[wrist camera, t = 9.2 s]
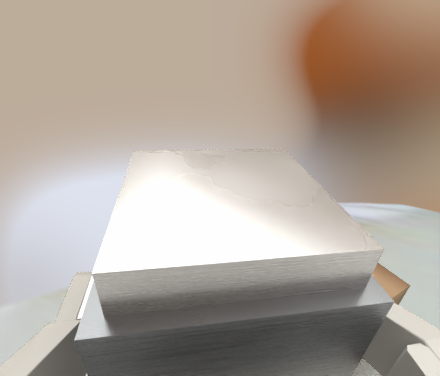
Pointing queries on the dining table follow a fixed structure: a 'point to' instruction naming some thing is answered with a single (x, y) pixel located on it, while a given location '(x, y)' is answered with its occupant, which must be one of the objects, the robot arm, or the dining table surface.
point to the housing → (229, 272)
